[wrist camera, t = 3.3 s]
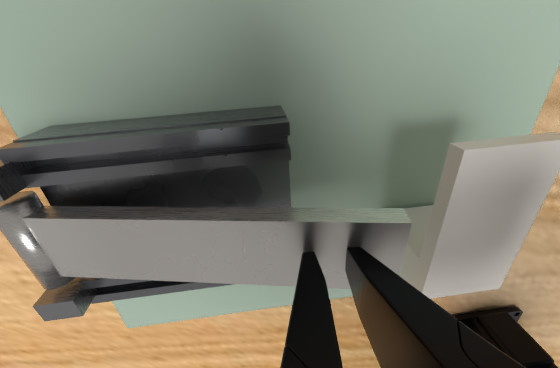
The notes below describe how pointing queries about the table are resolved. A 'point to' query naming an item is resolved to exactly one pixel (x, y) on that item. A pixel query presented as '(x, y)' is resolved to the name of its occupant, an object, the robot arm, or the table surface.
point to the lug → (479, 213)
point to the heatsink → (150, 178)
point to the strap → (196, 241)
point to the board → (290, 90)
